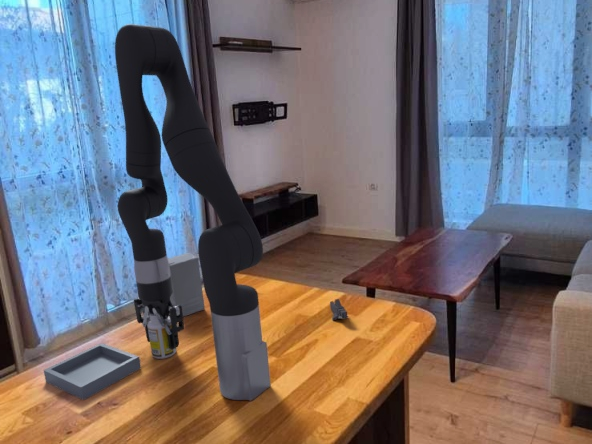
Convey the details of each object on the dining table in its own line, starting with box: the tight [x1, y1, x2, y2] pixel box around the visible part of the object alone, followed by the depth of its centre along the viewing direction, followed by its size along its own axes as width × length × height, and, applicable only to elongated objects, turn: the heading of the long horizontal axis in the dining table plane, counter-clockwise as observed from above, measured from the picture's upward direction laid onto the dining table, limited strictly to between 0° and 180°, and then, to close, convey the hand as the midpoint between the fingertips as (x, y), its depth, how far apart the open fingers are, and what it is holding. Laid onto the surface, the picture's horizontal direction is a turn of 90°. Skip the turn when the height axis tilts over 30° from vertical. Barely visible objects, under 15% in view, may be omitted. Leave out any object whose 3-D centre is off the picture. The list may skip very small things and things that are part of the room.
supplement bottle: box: [147, 313, 177, 360], centre depth 117 cm, size 6×6×10 cm
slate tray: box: [43, 342, 142, 401], centre depth 111 cm, size 14×14×3 cm
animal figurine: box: [329, 298, 349, 321], centre depth 130 cm, size 12×4×5 cm, turn 13°
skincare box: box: [167, 252, 206, 318], centre depth 140 cm, size 8×7×16 cm
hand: (162, 344), depth 118 cm, fingers open, 7 cm apart
